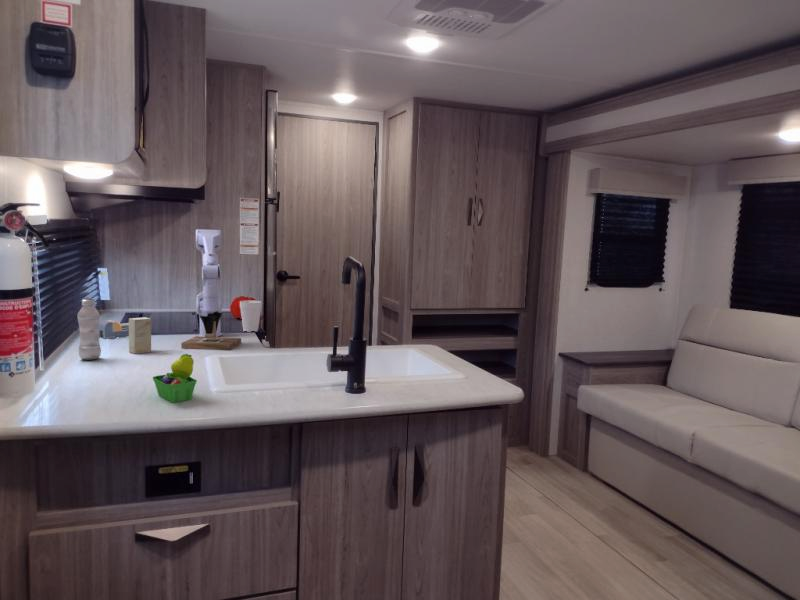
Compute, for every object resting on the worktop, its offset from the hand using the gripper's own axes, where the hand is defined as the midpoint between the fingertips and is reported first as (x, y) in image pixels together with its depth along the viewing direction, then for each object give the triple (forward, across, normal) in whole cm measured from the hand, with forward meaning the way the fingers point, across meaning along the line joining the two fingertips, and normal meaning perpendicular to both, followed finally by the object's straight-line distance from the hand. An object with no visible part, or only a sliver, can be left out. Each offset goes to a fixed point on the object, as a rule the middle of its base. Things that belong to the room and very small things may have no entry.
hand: (211, 332), depth 215 cm
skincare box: (+6, +15, -20) cm, 26 cm away
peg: (+2, 0, 0) cm, 2 cm away
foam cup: (+5, -36, +4) cm, 37 cm away
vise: (+6, -14, -41) cm, 43 cm away
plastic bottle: (+6, +29, -30) cm, 42 cm away
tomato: (+5, -68, -8) cm, 69 cm away
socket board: (+5, -1, 0) cm, 5 cm away
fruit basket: (+6, +66, +15) cm, 68 cm away
